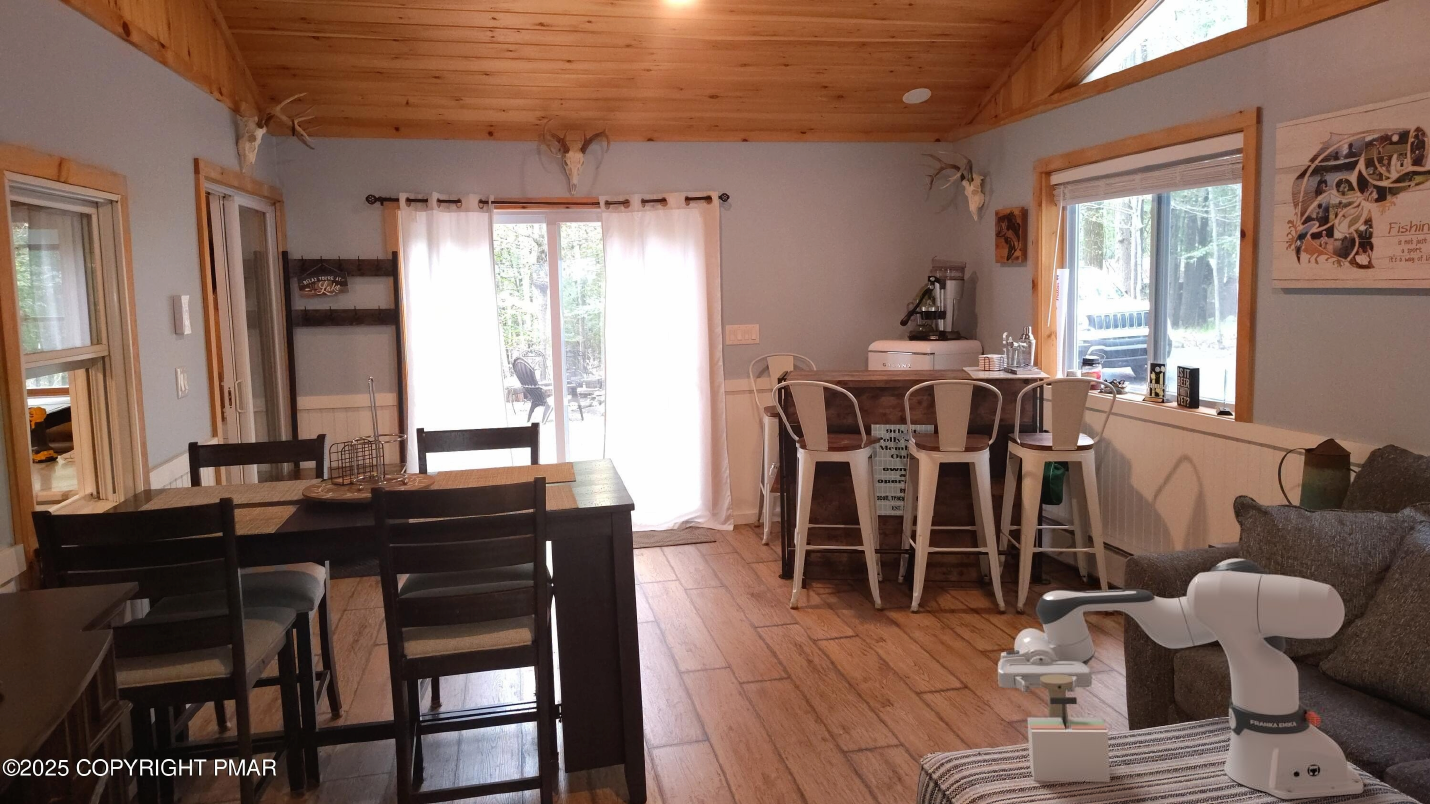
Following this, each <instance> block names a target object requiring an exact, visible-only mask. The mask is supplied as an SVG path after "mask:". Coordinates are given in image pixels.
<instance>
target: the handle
mask: <svg viewBox="0 0 1430 804" xmlns="http://www.w3.org/2000/svg"><path fill="white" fill-rule="evenodd" d="M1040 684H1041V686H1042V687H1041V688H1044V689H1045V690H1047V692H1048V710H1047V711H1048V713H1047V718H1061V719H1062V704H1050V697H1067V696H1066V693H1067V689H1069V688H1071V687H1072V686H1073V678H1072V677H1070V676H1068V675H1059V674H1054V675H1045V676H1041V677H1040ZM1067 706H1068V704H1065V711H1066V722H1067V718H1069V716H1068V715H1069V714H1068V713H1069V712H1068V707H1067Z"/></svg>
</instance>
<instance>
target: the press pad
mask: <svg viewBox="0 0 1430 804" xmlns="http://www.w3.org/2000/svg"><path fill="white" fill-rule="evenodd" d="M1077 699H1078V698H1077V696H1066V697H1050V704H1062V721H1063V724H1064V726H1065V729H1068V722H1066V711H1065V704H1067V705H1078V704H1077V703H1078V700H1077Z"/></svg>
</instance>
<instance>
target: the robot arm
mask: <svg viewBox="0 0 1430 804" xmlns="http://www.w3.org/2000/svg"><path fill="white" fill-rule="evenodd" d="M1097 611H1099V612H1100V611H1101V612H1103V611H1121V612H1124V613H1126V614H1128V615H1129V616H1130V617H1131V618H1133V619H1134V620H1135V621H1136V622H1137V624H1138V625H1139V626H1140V627H1141V628H1142V630H1143V631H1144V632H1145V633H1146V635H1147V636H1149V637H1150V639H1152V640H1153V641H1154V642H1155V643H1157V644H1159V645H1161V646H1162V647H1165V648H1168V649H1184V648H1188V647H1194V646H1199V645H1204V644H1208V643H1212V642H1215V641H1218V642H1219V644H1220V645H1221V647H1222V649H1223V651H1224V653H1225V655H1226V659H1227V661H1228V666H1229V674H1230V683H1231V697H1230V698H1229V707H1228V722H1229V727H1230V731H1231V732H1230V740H1229V749H1228V753H1227V757H1226V760H1225V763H1224V767H1223V768H1224V772H1225V773H1226V775H1227V776H1228V777H1229V778H1230V779H1232V780H1233V781H1235V782H1237V783H1239V784H1240V785H1243V786H1246V787H1248V788H1250V789H1254V790H1259V791H1262V792H1266V793H1267V794H1269V795H1272V796H1274V797H1277V798H1279V799H1283V800H1292V799H1293V800H1295V799H1305V798H1307V799H1308V798H1317V797H1319V798H1320V797H1331V796H1332V797H1333V796H1343V795H1355V794H1357V795H1358V794H1362V793H1363V792H1364V782H1363V780H1362V778H1361V776H1360V775H1359V774H1358V772H1357V771H1356V770H1355V769H1354V768H1353V767H1352V766H1350V765H1349V763H1348V762H1347V758H1346V756H1345V754H1344V751H1343V750H1342V748H1341V747H1340V746H1339V745H1338V743H1337V742H1336V741H1334V739H1332V738H1331V737H1330V736H1328V735H1327V734H1326V733H1324V732H1323V731H1322V730H1320V729H1318V728H1317V726H1319V725H1320V724H1321V723H1322V722H1321V721H1322V720H1321V717H1320V716H1319V715H1317V713H1316V712H1314V711H1311V710H1310V708H1309V707H1307V706H1305V705H1304V704H1302V703H1301V702H1300V699H1299V698H1300V697H1299V672H1298V669H1297V666H1296V664H1295V663H1294V662H1293V660H1292V659H1291V658H1290V657H1289V656H1287V655H1286V654H1285V653H1284V651H1285V650H1286V640H1285V638H1295V639H1326V638H1329V639H1330V638H1331V637H1333V636H1335V634H1336V633H1337V632H1339V630H1340V628H1341V627H1342V625H1343V624H1344V623H1343V622H1344V620H1345V605H1344V601H1343V599H1342V598H1341V596H1340V594H1339V592H1338V591H1337V590H1336V589H1335V588H1334V587H1333V586H1332V585H1330V584H1328V583H1327V584H1326V583H1324V582H1320V581H1315V580H1313V579H1307V578H1303V577H1298V576H1297V577H1296V576H1289V575H1282V574H1270V572H1269V570H1264V569H1263V568H1262V567H1261V566H1260V565H1259V564H1258V563H1256V562H1254V561H1253V560H1251V559H1245V558H1229V559H1226V560H1223V561H1222V560H1221V562H1218V564H1216V565H1215V566H1213V567H1212V568H1211V569H1210V570H1209V571H1205V572H1199V573H1198V574H1197V575H1195V576H1194V577H1193V579H1192V580H1191V581H1190V583H1189V584H1188V587H1187V592H1186V596H1180V597H1175V598H1174V597H1173V598H1165V597H1160V596H1157V595H1154V594H1153V593H1152V592H1151V591H1150V590H1146V589H1140V588H1139V589H1137V588H1135V589H1134V588H1133V589H1132V588H1126V589H1120V588H1118V589H1104V590H1103V589H1099V590H1096V589H1095V590H1063V589H1061V590H1058V589H1057V590H1051V591H1049V592H1046V593H1044V594H1043V595H1042V596H1041V597H1040V598H1039V600H1038V602H1037V605H1036V607H1035V612H1036V615H1037V616H1038V619H1039V621H1040V623H1041V625H1042V627H1043V630H1044V631H1041V630H1040V629H1037V628H1031V627H1030V628H1025V629H1023V630H1021V631H1020V632H1019V633H1018V634H1017V636H1016V637H1015V640H1014V646H1013V648H1014V650H1009V651H1004V652H1001V654H1000V660H999V661H998V663H997V680H998V681H997V683H998V686H999V687H1000V688H1009V689H1010V688H1017V689H1020V690H1021V691H1022V692H1023V693H1027V692H1028V693H1030V691H1031V689H1030V688H1043V687H1042V686H1041V684H1040V677H1041V676H1045V675H1054V674H1059V675H1068V676H1070V677H1072V678H1073V686H1072V687H1071V688H1069V689H1067V690H1066V692H1068V693H1074V692H1075V691H1076V688H1089V687H1091V686H1092V685H1093V676H1092V675H1093V674H1092V671H1091V669H1090V668H1089V667H1088V664H1089V663H1091V661H1092V659H1093V658H1094V656H1095V653H1096V650H1095V646H1094V643H1093V640H1092V636H1091V634H1090V632H1089V629H1088V626H1087V623H1086V621H1085V617H1084V612H1097Z"/></svg>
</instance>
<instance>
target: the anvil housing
mask: <svg viewBox="0 0 1430 804" xmlns="http://www.w3.org/2000/svg"><path fill="white" fill-rule="evenodd" d="M1067 722H1068V729H1065V726H1064V724H1063V721H1062V719H1061V718H1048V717H1027V733H1028V755H1029V757H1028V759H1029V767H1030V771H1031V775H1032V778H1033V781H1034V782H1083V783H1084V781H1085V782H1087V783H1088V782H1090V783H1091V782H1093V783H1094V782H1095V783H1097V782H1098V783H1101V782H1102V783H1110V782H1111V778H1110V777H1111V776H1110V754H1109V753H1110V751H1109V747H1110V746H1109V732H1108V731H1109V730H1108V729H1107V726H1106V724H1105V722H1104V721H1103V718H1102V717H1068V718H1067Z"/></svg>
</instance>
